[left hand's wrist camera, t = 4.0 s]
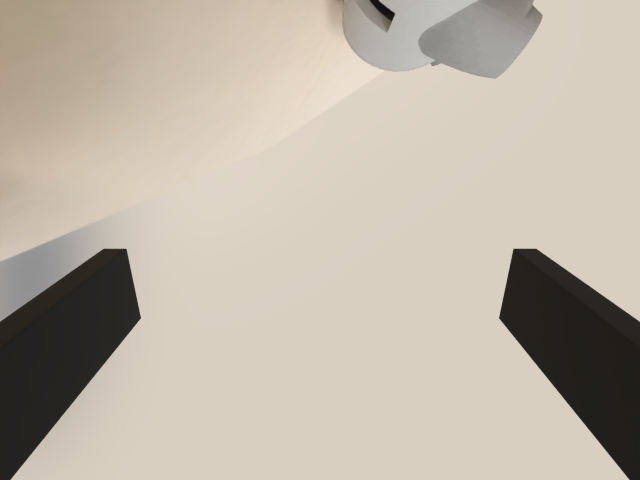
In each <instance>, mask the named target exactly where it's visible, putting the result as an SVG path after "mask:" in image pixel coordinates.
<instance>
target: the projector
mask: <svg viewBox="0 0 640 480" xmlns="http://www.w3.org/2000/svg"><path fill="white" fill-rule="evenodd" d="M533 1H534V0H344V4H343V17H342V24H343V32H344V35H345V37H346V40H347V42H348V44H349V45H350V47H351V48H352V50H353V51H354V52H355V53H356V54H357V55H358V56H359V57H360V58H361V59H362V60H364V61H365V62H367V63H368V64H370V65H372V66H374V67H377V68H380V69H383V70H388V71H394V72H398V71H408V70H413V69H417V68H420V67H422V66H425V65H427V64H429V63H431V65H432V66H435V65H438V64H440V63H443V64H445V65H447V66H450V67H453V68H455V69H458V70H460V71H463V72H467V73H470V74H473V75H477V76H482V77H489V78H497V77H499V76H500V75H501V74H502V73H503V72H504V71H505V70H506V69H507V68H508V67H509V66H510V65H511V64H512V63H513V62H514V60H515V59H516V58H517V57H518V56H519V54H520V53H521V52H522V50H523V49H524V48H525V46H526V45H527V44H528V42H529V41H530V39H531V38H532V36H533V35H534V33H535V31H536V30H537V28H538V26H539V24H540V22H541V19H542V14H541V13H540V12H539V11H538V10H537V9H536V8H535V7H534V6H533V5H532V3H533Z"/></svg>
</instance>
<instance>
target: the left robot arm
mask: <svg viewBox="0 0 640 480" xmlns="http://www.w3.org/2000/svg"><path fill="white" fill-rule="evenodd" d="M140 319H141V317H140V312H139V307H138V302H137V297H136V293H135V288H134V283H133V278H132V273H131V269H130V264H129V259H128V254H127V250H126V249H103V250H101V251H100V252H99V253H97V254H96V255H94V256H93V257H91V258H90V259H89V260H87V261H86V262H84V263H83V264H82V265H80V266H79V267H77V268H76V269H75V270H73V271H72V272H70V273H69V274H67V275H66V276H65V277H63V278H62V279H60V280H59V281H57V282H56V283H55V284H53V285H52V286H50V287H49V288H47V289H46V290H45V291H43V292H42V293H40V294H39V295H38V296H36V297H35V298H33V299H32V300H30V301H29V302H28V303H26V304H25V305H23V306H22V307H21V308H19V309H18V310H16V311H15V312H13V313H12V314H11V315H9V316H8V317H6V318H5V319H4V320H2V321H1V322H0V480H11V478H12V477H13V476H14V475H15V473H16V472H17V471H18V470H19V468H20V467H21V466H22V465H23V464H24V462H25V461H26V460H27V459H28V457H29V456H30V455H31V454H32V452H33V451H34V450H35V449H36V447H37V446H38V445H39V444H40V442H41V441H42V440H43V439H44V438H45V436H46V435H47V434H48V433H49V431H50V430H51V429H52V428H53V426H54V425H55V424H56V423H57V421H58V420H59V419H60V418H61V416H62V415H63V414H64V413H65V411H66V410H67V409H68V408H69V407H70V405H71V404H72V403H73V402H74V400H75V399H76V398H77V397H78V395H79V394H80V393H81V392H82V390H83V389H84V388H85V387H86V386H87V384H88V383H89V382H90V381H91V379H92V378H93V377H94V376H95V374H96V373H97V372H98V371H99V369H100V368H101V367H102V366H103V364H104V363H105V362H106V361H107V360H108V358H109V357H110V356H111V355H112V353H113V352H114V351H115V350H116V348H117V347H118V346H119V345H120V343H121V342H122V341H123V340H124V338H125V337H126V336H127V335H128V334H129V332H130V331H131V330H132V329H133V327H134V326H135V325H136V324H137V322H138V321H139V320H140ZM499 319H500V320H501V321H502V322H503V324H504V325H505V326H506V327H507V329H508V330H509V331H510V332H511V334H512V335H513V336H514V337H515V338H516V340H517V341H518V342H519V343H520V345H521V346H522V347H523V348H524V350H525V351H526V352H527V353H528V355H529V356H530V357H531V358H532V360H533V361H534V362H535V363H536V364H537V366H538V367H539V368H540V369H541V371H542V372H543V373H544V374H545V376H546V377H547V378H548V379H549V381H550V382H551V383H552V384H553V386H554V387H555V388H556V389H557V390H558V392H559V393H560V394H561V395H562V397H563V398H564V399H565V400H566V402H567V403H568V404H569V405H570V407H571V408H572V409H573V410H574V412H575V413H576V414H577V415H578V416H579V418H580V419H581V420H582V421H583V423H584V424H585V425H586V426H587V428H588V429H589V430H590V431H591V433H592V434H593V435H594V436H595V438H596V439H597V440H598V441H599V442H600V444H601V445H602V446H603V447H604V449H605V450H606V451H607V452H608V454H609V455H610V456H611V457H612V459H613V460H614V461H615V462H616V464H617V465H618V466H619V467H620V468H621V470H622V471H623V472H624V473H625V475H626V476H627V477H628V478H629V480H640V322H639V321H638V320H637V319H635V318H634V317H632V316H631V315H629V314H628V313H626V312H625V311H624V310H622V309H621V308H619V307H618V306H617V305H615V304H614V303H612V302H611V301H610V300H608V299H607V298H605V297H604V296H602V295H601V294H600V293H598V292H597V291H595V290H594V289H593V288H591V287H590V286H588V285H587V284H585V283H584V282H583V281H581V280H580V279H578V278H577V277H575V276H574V275H573V274H571V273H570V272H568V271H567V270H566V269H564V268H563V267H561V266H560V265H558V264H557V263H556V262H554V261H553V260H551V259H550V258H549V257H547V256H546V255H544V254H543V253H541V252H540V251H539V250H537V249H514V250H513V254H512V259H511V264H510V269H509V273H508V278H507V283H506V288H505V293H504V297H503V302H502V307H501V312H500V317H499Z"/></svg>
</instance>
